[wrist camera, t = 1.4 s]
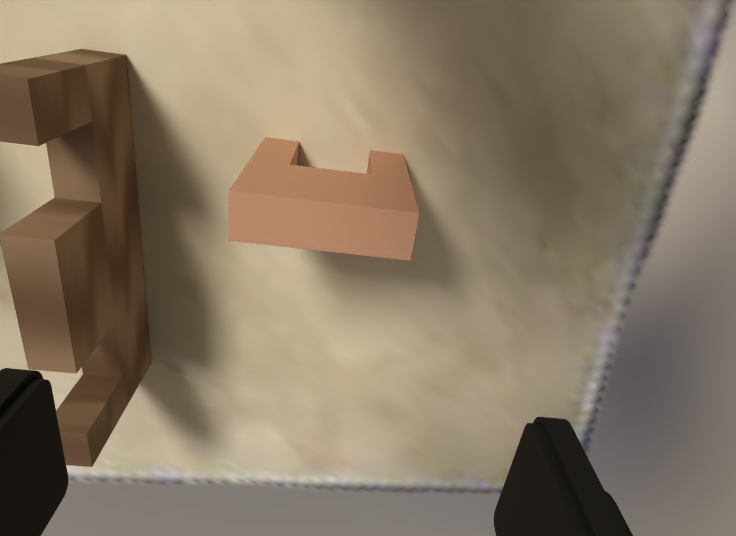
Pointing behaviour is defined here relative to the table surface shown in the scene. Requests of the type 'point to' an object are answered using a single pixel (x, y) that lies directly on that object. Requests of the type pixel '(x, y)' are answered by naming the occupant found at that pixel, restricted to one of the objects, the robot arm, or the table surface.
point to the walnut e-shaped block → (79, 239)
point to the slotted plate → (324, 204)
